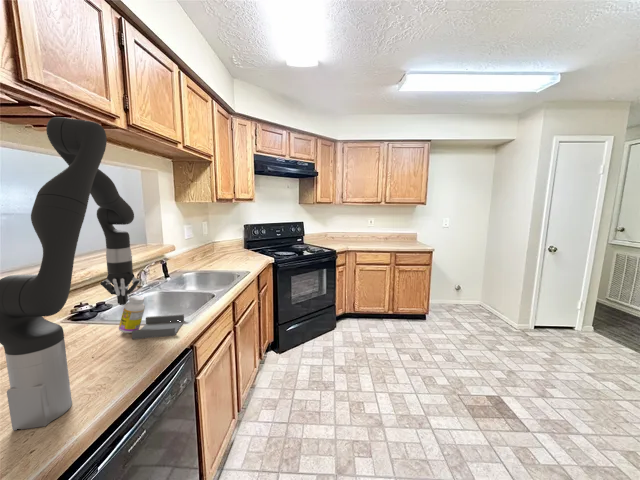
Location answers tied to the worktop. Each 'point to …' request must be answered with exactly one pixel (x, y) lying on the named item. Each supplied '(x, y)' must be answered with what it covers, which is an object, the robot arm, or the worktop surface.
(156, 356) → the worktop surface
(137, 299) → the supplement bottle
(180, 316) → the cradle tray
